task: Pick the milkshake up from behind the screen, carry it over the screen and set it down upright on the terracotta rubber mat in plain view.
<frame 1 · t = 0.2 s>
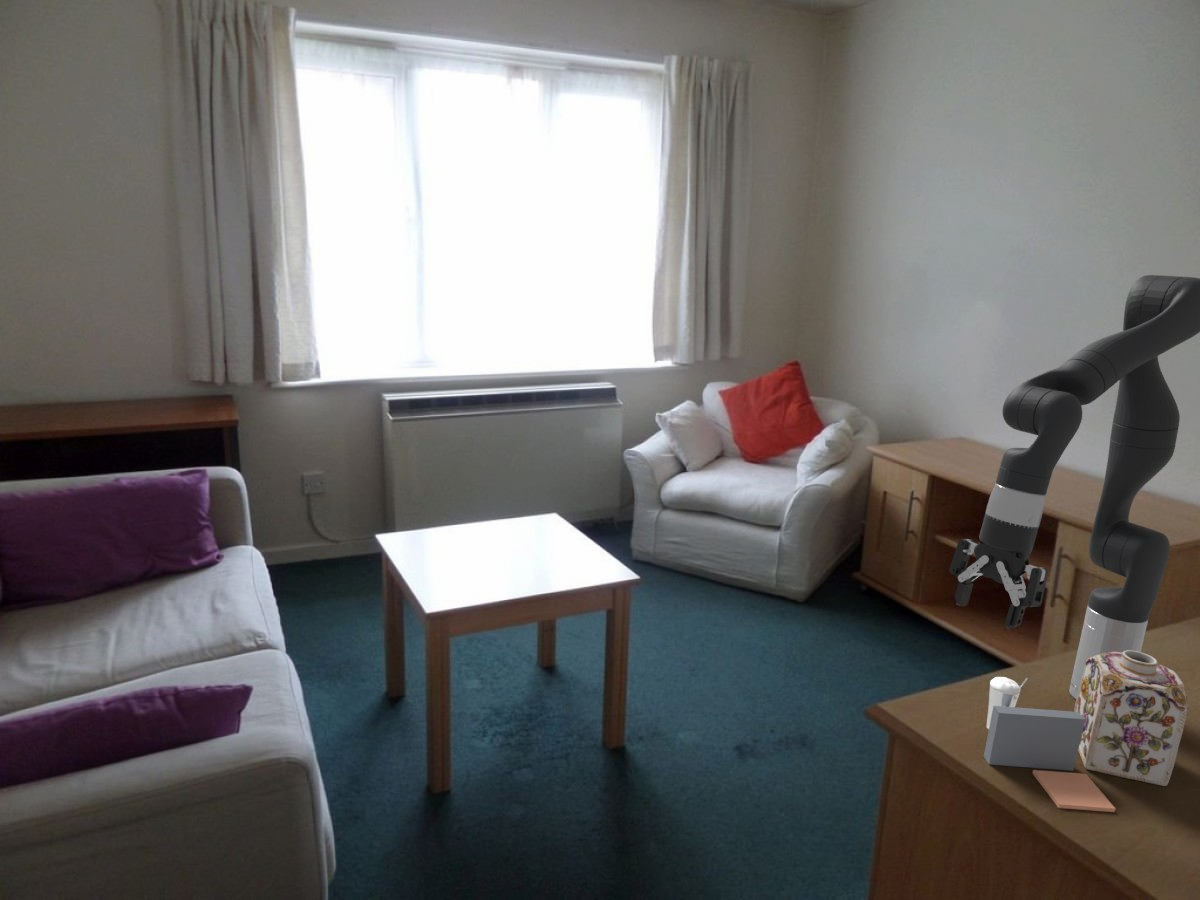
hand: (984, 616, 128), 22 cm above the cabinet, tool pointing down, fingers open, 8 cm apart
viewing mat: (1072, 792, 122), on the cabinet
decorative jar: (1116, 759, 132), on the cabinet
milkshake: (999, 730, 138), on the cabinet
screen: (1028, 763, 129), on the cabinet
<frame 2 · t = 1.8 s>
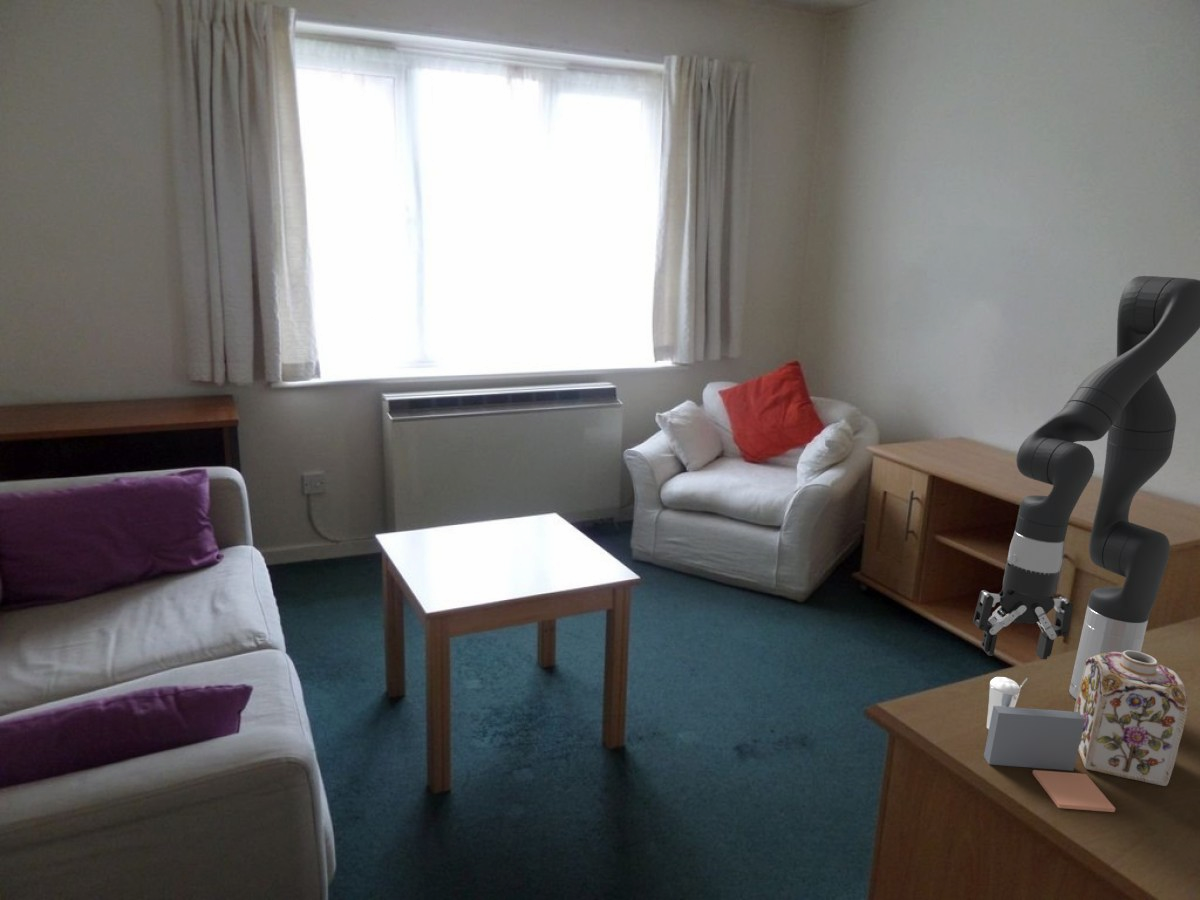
hand: (1014, 655, 134), 14 cm above the cabinet, tool pointing down, fingers open, 8 cm apart
nothing on the cabinet moved.
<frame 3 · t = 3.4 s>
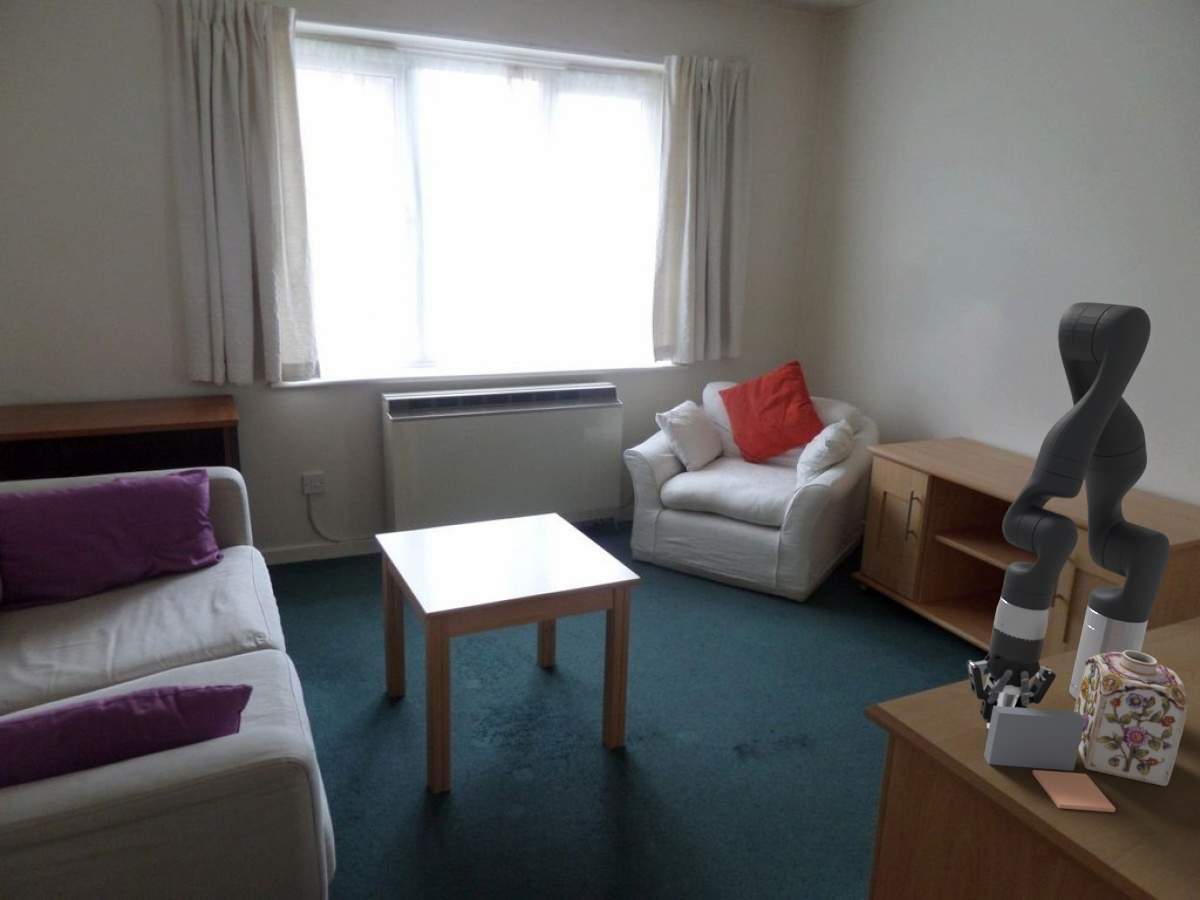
hand: (1000, 721, 137), 2 cm above the cabinet, tool pointing down, fingers closed on milkshake, 4 cm apart
milkshake: (999, 730, 138), on the cabinet, touching gripper
everything else where it was.
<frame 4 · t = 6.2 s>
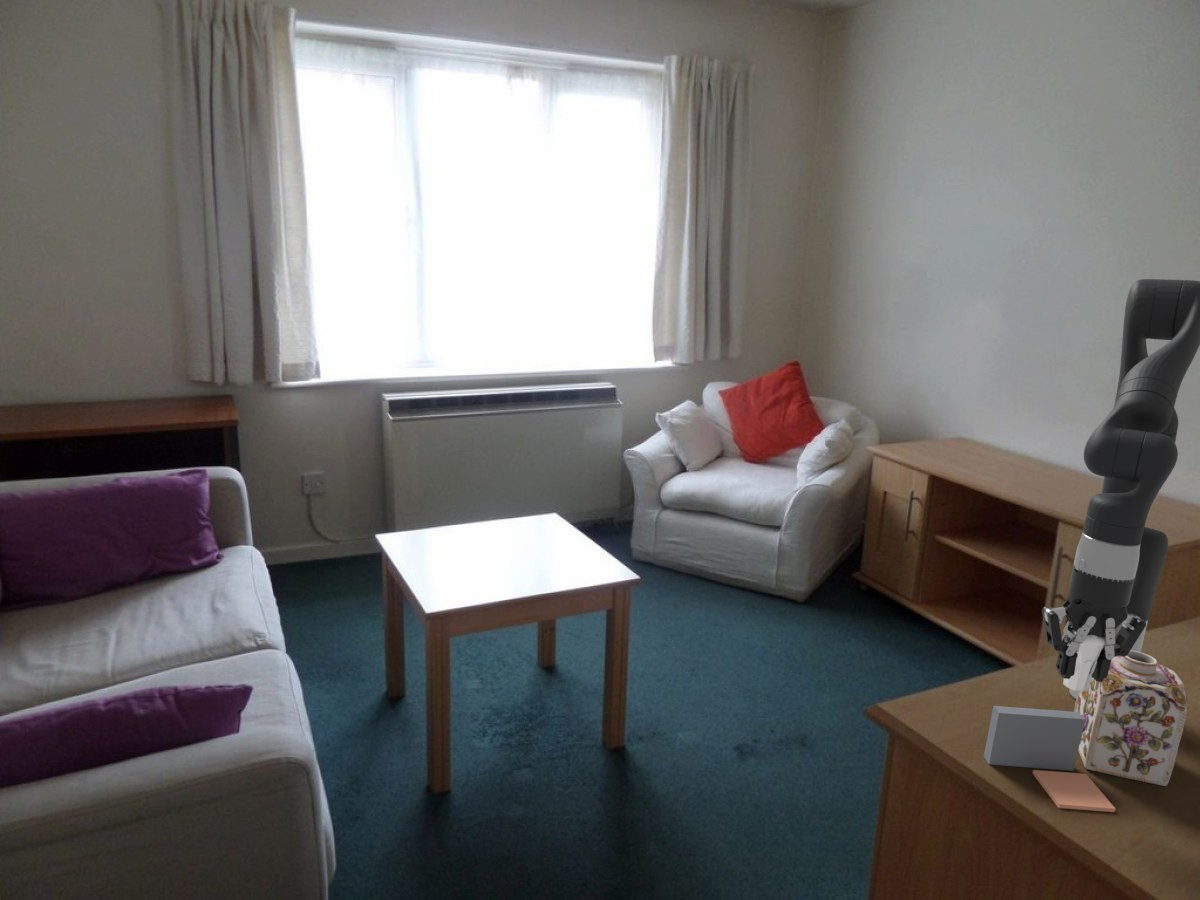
hand: (1079, 677, 120), 18 cm above the cabinet, tool pointing down, fingers closed on milkshake, 4 cm apart
milkshake: (1077, 688, 121), point 16 cm above the cabinet, touching gripper
everything else where it was.
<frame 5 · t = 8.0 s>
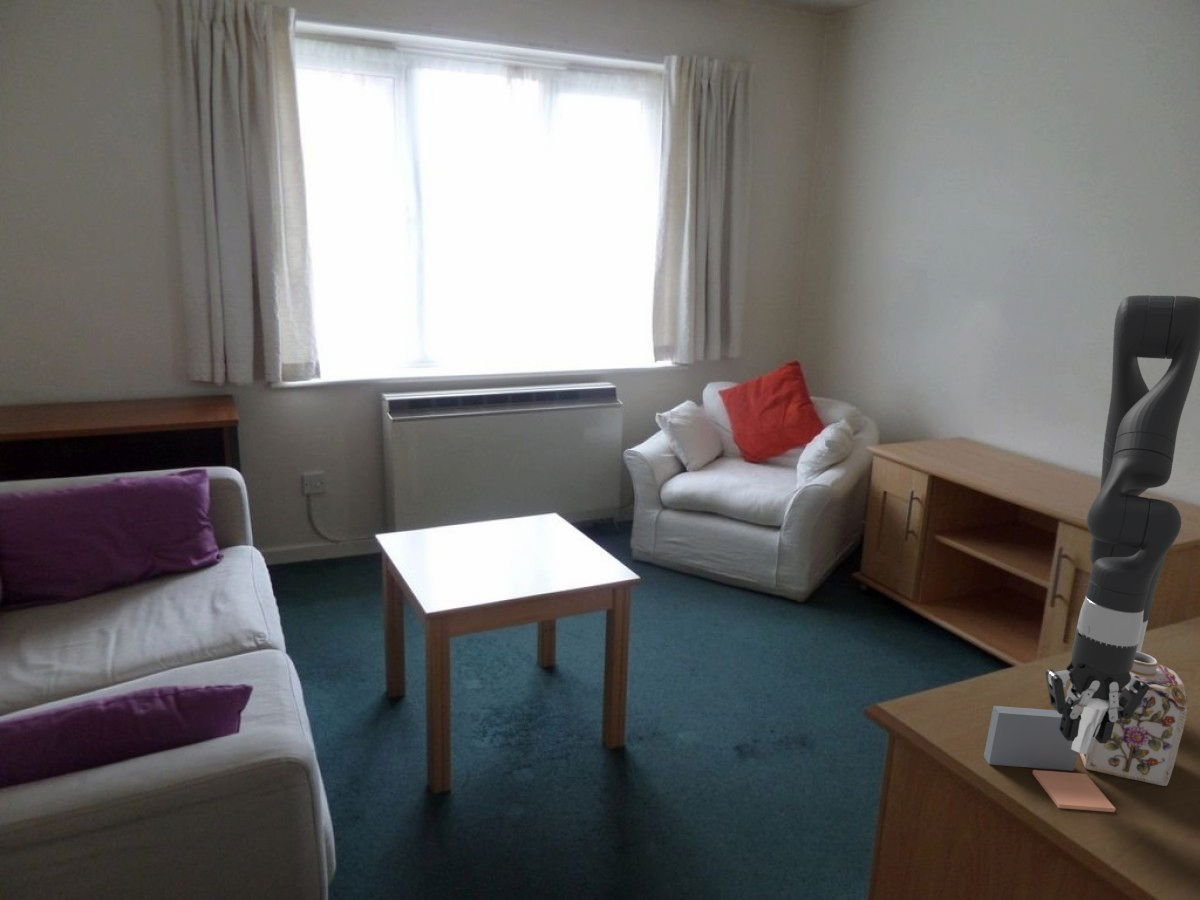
hand: (1083, 738, 120), 9 cm above the cabinet, tool pointing down, fingers closed on milkshake, 4 cm apart
milkshake: (1081, 749, 121), point 7 cm above the cabinet, touching gripper
everything else where it was.
when the fingers open (4 cm above the cabinet, at t = 9.3 s): milkshake drops 2 cm, resting on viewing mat.
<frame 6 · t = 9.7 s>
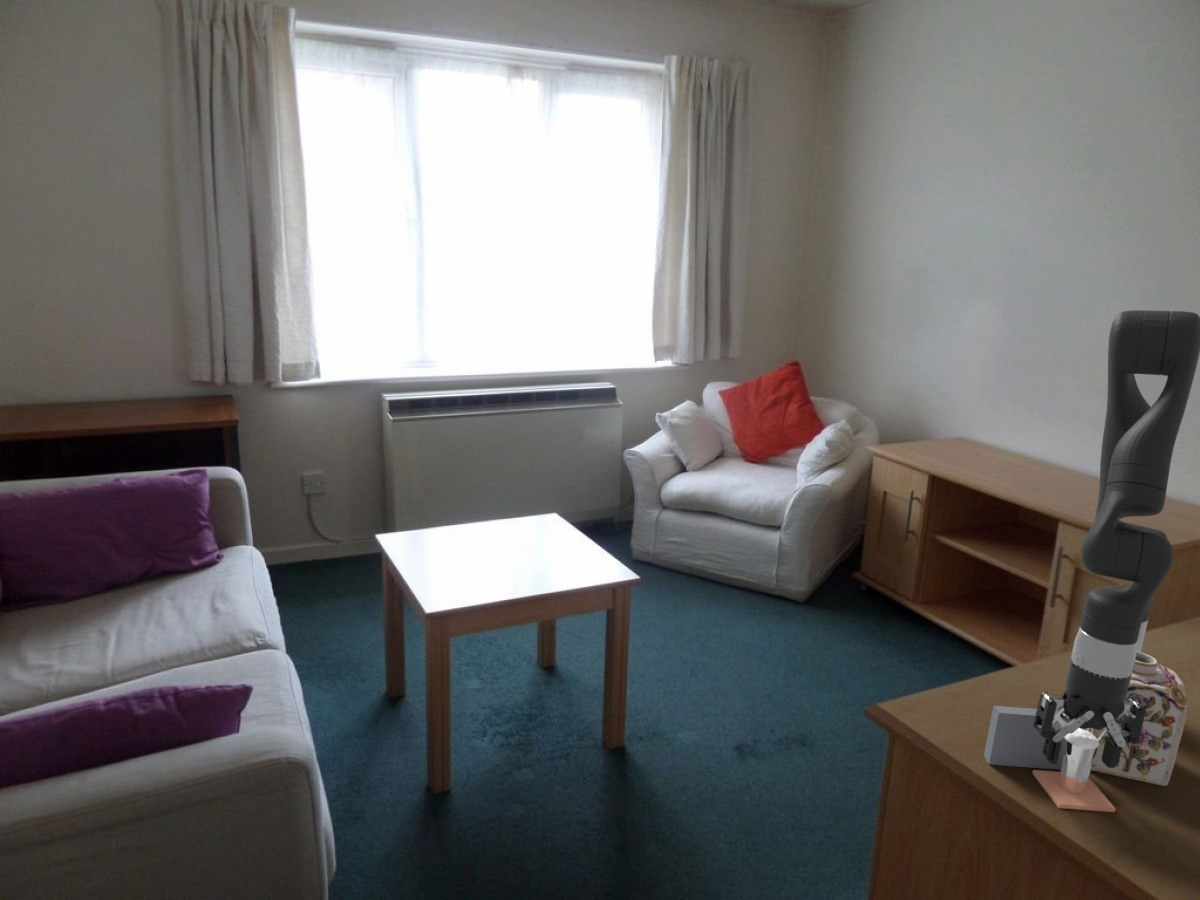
hand: (1078, 762, 121), 5 cm above the cabinet, tool pointing down, fingers open, 8 cm apart
milkshake: (1074, 788, 122), resting on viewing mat
everything else where it was.
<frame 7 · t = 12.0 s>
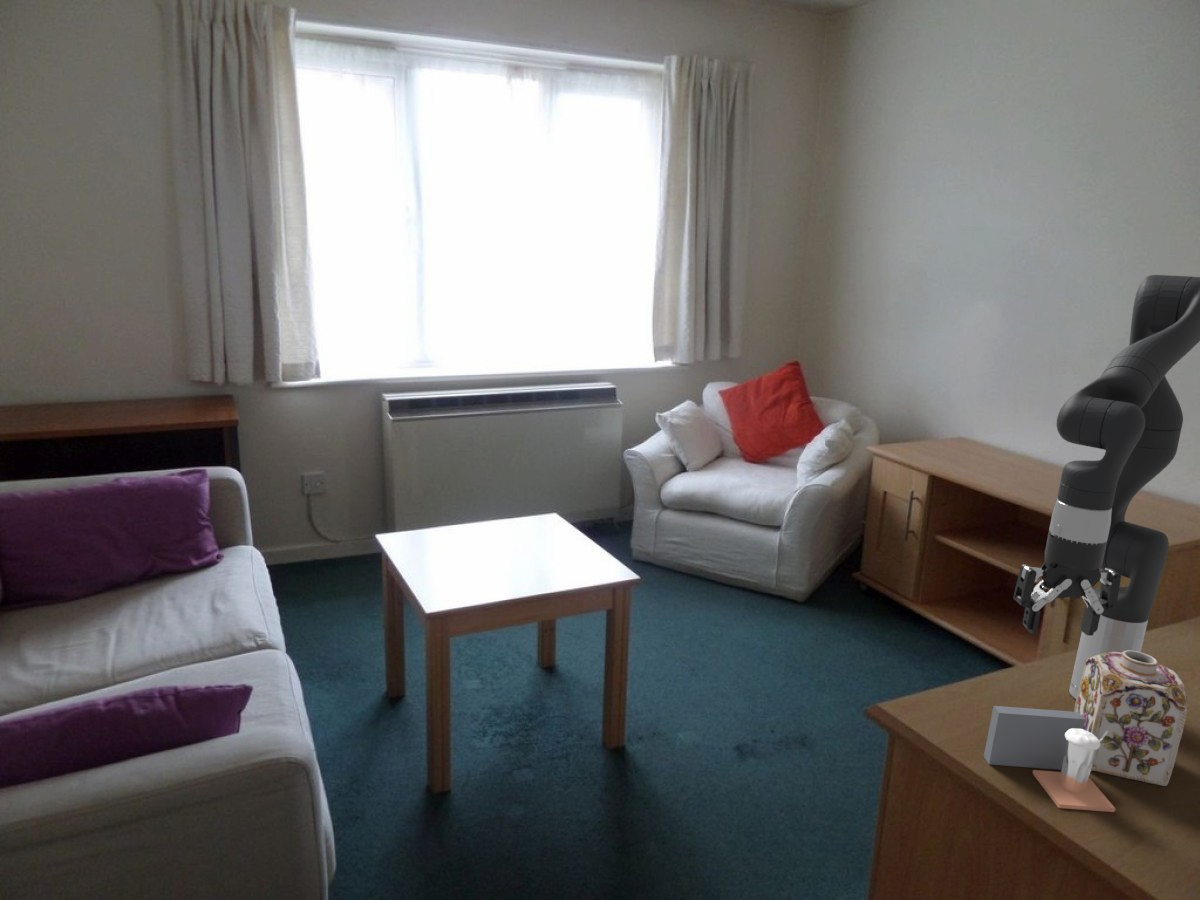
hand: (1058, 632, 125), 22 cm above the cabinet, tool pointing down, fingers open, 8 cm apart
nothing on the cabinet moved.
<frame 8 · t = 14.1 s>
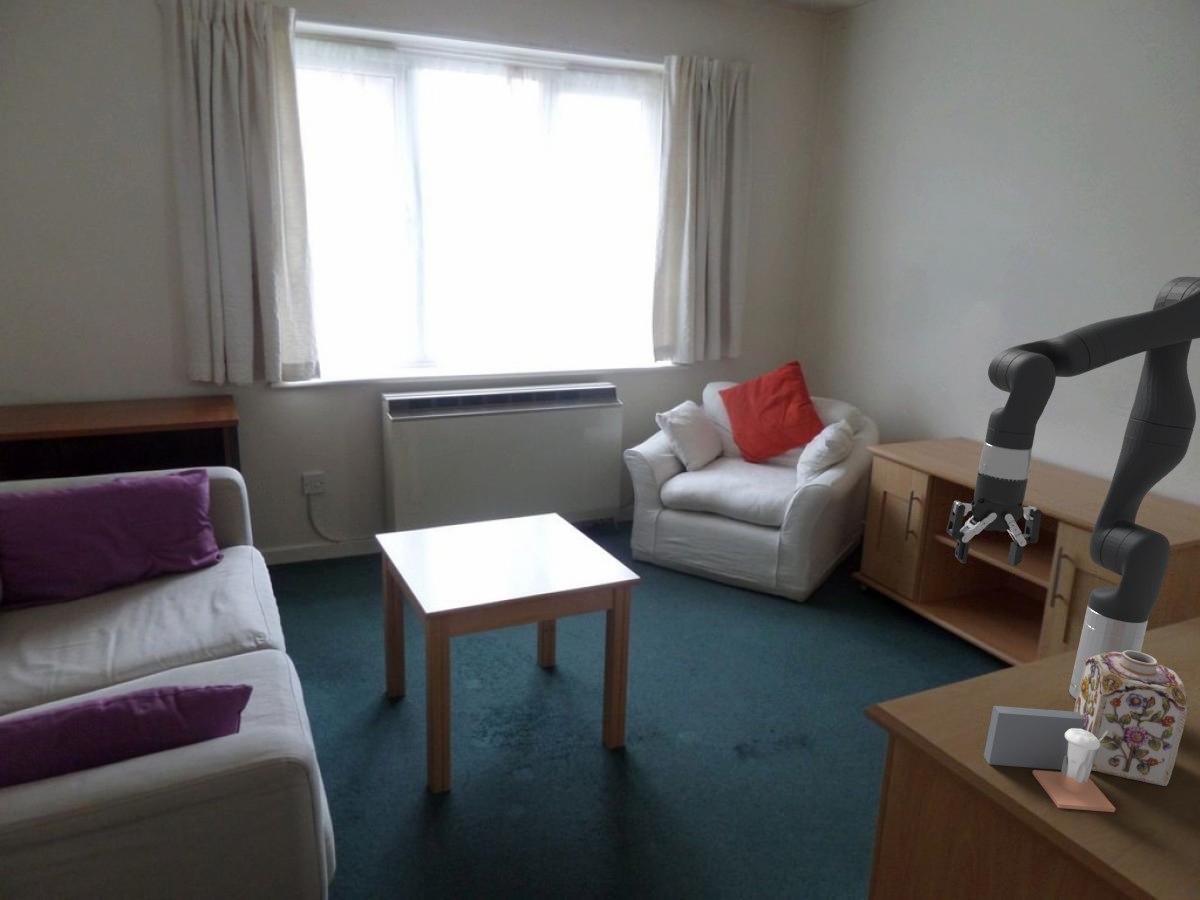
hand: (986, 563, 140), 26 cm above the cabinet, tool pointing down, fingers open, 8 cm apart
nothing on the cabinet moved.
at the end: milkshake 0.5 cm off-centre on the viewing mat, point 0.4 cm above the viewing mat's base; milkshake tilted 0°; the gripper is holding nothing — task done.
